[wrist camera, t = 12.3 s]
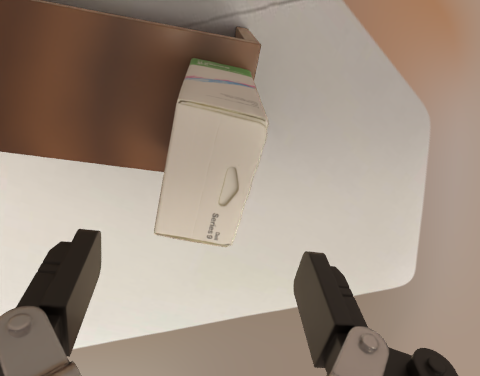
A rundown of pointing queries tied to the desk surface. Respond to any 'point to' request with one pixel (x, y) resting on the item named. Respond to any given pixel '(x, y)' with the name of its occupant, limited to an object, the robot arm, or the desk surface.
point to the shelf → (99, 81)
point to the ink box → (211, 154)
